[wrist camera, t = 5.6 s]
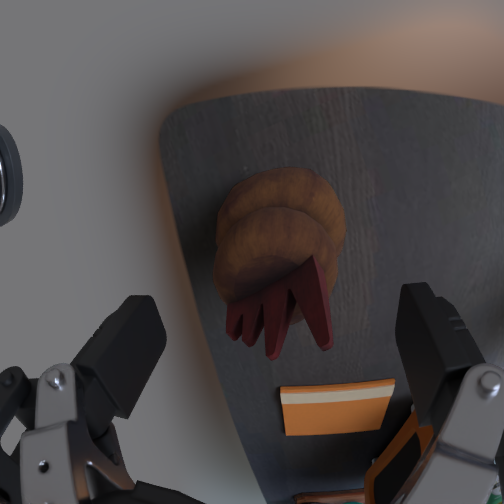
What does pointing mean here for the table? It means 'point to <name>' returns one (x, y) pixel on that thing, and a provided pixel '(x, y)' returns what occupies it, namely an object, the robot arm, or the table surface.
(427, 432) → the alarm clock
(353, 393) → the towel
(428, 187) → the table surface
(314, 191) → the wooden figurine
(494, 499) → the beverage can
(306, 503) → the contraption on wooden base
